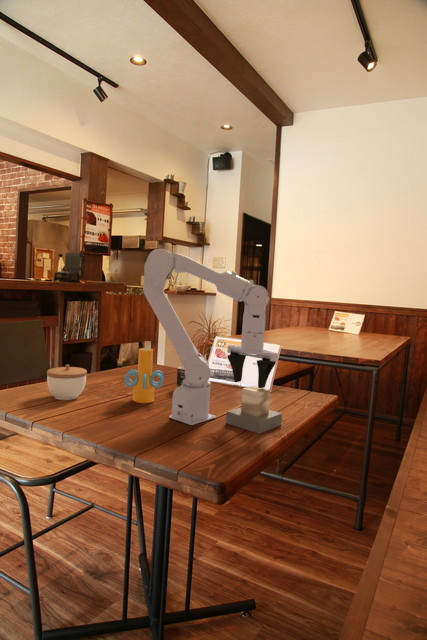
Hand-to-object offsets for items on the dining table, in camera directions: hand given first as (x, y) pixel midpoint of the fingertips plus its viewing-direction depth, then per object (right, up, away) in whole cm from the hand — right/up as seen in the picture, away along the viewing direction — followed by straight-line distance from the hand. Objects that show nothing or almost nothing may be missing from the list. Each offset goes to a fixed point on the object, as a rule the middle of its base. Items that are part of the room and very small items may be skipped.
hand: (249, 384), depth 108 cm
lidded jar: (-51, -6, +11) cm, 53 cm away
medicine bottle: (-17, -6, +31) cm, 36 cm away
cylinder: (-29, -7, +13) cm, 33 cm away
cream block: (+1, -7, -3) cm, 7 cm away
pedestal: (+1, -10, -2) cm, 10 cm away
